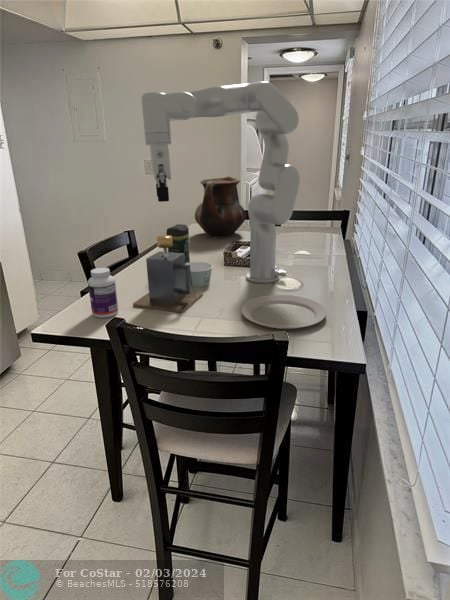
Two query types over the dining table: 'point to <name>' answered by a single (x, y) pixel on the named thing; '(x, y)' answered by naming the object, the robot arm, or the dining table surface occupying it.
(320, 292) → the dining table surface
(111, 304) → the pill bottle
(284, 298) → the plate
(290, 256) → the dining table surface
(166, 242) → the plunger
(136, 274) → the dining table surface
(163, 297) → the block on wooden base
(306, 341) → the dining table surface
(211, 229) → the jug
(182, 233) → the coffee jar
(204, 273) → the food container
